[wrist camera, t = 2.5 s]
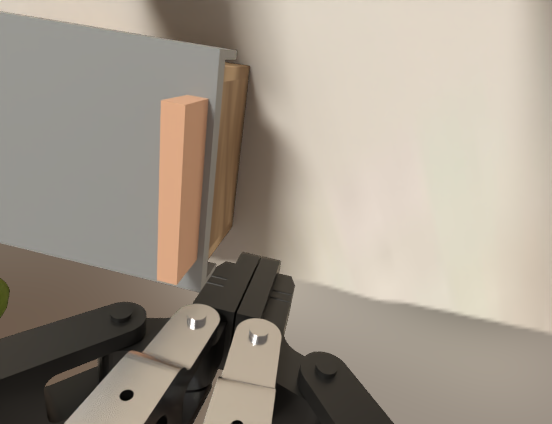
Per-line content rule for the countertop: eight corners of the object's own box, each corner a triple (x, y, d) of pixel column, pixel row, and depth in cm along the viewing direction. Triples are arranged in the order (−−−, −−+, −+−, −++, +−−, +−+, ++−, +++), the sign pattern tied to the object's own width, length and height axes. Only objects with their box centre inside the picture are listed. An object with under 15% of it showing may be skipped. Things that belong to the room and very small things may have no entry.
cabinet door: (237, 50, 21) (196, 47, 16) (215, 269, 27) (181, 321, 22) (-50, 2, 24) (-171, -15, 18) (-11, 215, 30) (-94, 250, 24)
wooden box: (249, 66, 27) (217, 67, 20) (231, 226, 32) (201, 268, 25) (26, 28, 29) (-67, 18, 22) (43, 184, 34) (-28, 213, 28)
